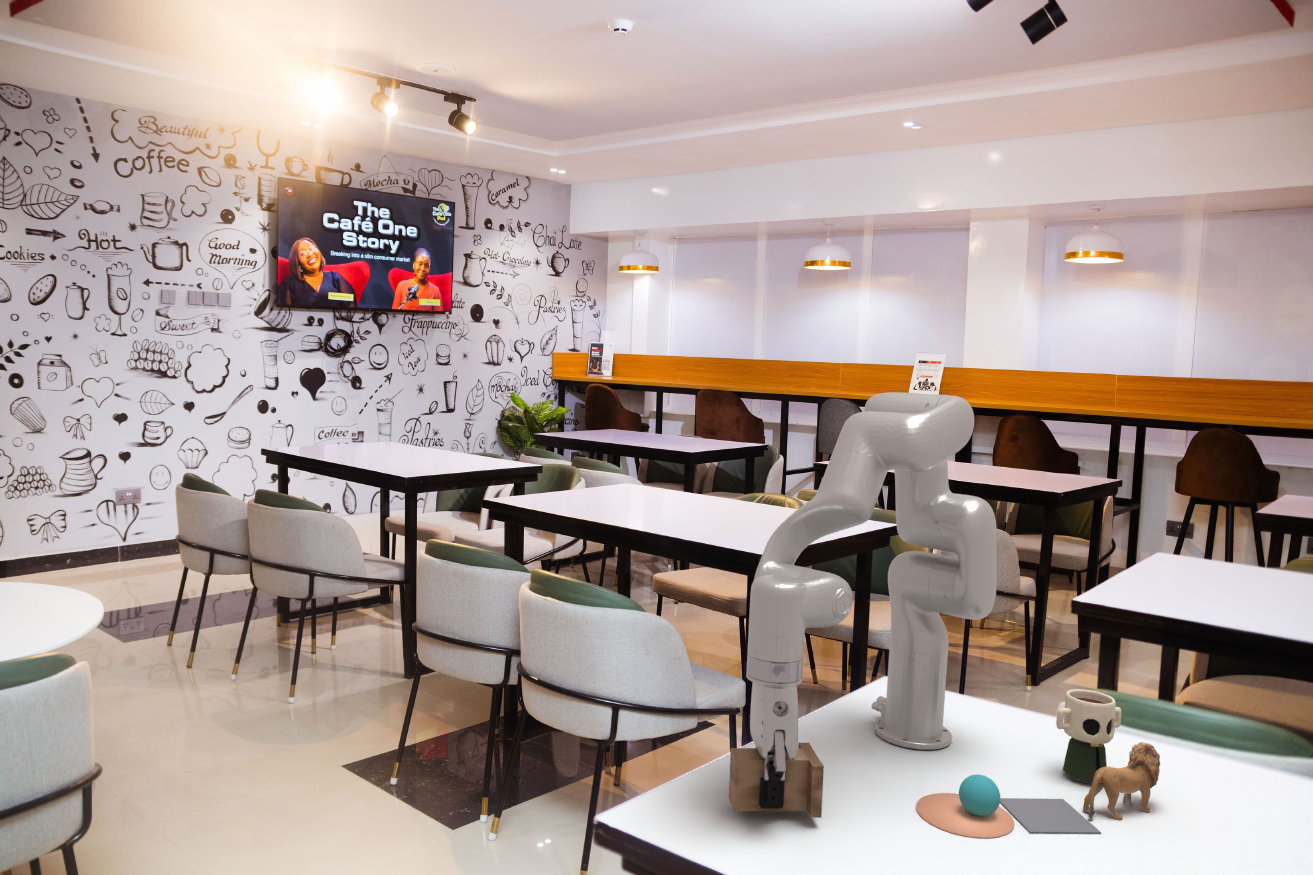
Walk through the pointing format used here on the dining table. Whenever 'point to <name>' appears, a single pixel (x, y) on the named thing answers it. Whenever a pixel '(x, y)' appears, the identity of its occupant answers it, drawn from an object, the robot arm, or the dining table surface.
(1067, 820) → the far square
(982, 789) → the ball
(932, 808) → the disc
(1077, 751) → the character mug
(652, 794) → the dining table surface
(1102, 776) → the lion figurine
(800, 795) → the t-shaped block
